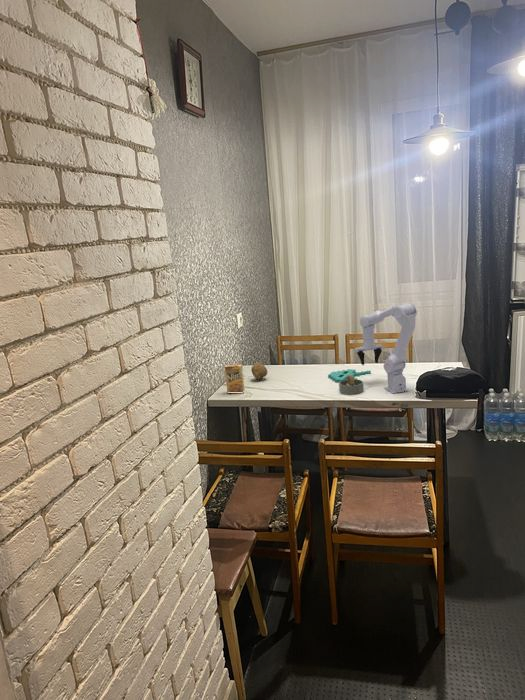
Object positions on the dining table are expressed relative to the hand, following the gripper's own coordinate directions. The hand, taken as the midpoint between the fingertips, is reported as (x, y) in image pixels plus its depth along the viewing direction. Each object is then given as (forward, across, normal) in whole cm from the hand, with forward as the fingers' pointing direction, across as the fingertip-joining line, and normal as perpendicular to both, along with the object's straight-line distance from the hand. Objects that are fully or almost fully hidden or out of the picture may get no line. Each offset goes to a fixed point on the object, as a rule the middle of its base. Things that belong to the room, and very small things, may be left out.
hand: (369, 363), depth 259 cm
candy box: (+11, +69, -18) cm, 72 cm away
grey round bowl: (+10, +14, +8) cm, 19 cm away
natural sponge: (+11, +52, -35) cm, 64 cm away
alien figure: (+11, +7, -15) cm, 20 cm away
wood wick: (+10, +14, +8) cm, 19 cm away
